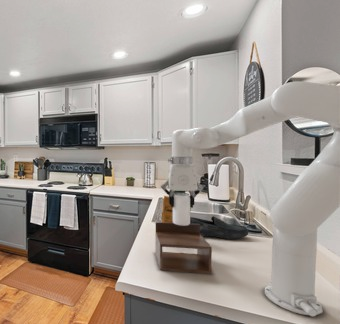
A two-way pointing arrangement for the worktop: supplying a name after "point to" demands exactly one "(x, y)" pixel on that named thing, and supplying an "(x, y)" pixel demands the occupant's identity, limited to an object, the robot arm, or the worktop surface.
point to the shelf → (182, 239)
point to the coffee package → (167, 211)
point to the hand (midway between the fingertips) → (181, 206)
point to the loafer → (219, 228)
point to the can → (181, 209)
